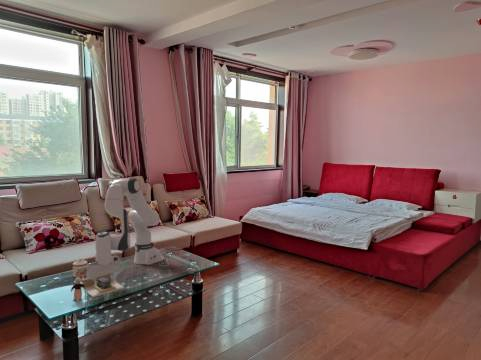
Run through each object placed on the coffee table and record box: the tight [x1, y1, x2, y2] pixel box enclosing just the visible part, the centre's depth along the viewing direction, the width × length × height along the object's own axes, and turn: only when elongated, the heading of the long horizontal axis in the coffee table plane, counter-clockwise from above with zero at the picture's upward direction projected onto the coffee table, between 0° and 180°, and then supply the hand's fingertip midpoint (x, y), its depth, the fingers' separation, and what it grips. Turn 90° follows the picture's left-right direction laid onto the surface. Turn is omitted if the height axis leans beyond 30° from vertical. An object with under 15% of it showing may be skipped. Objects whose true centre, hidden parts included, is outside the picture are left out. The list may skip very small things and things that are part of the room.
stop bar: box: [97, 277, 111, 290], centre depth 206 cm, size 8×4×5 cm, turn 52°
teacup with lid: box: [72, 258, 89, 278], centre depth 227 cm, size 12×9×12 cm
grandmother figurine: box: [70, 277, 86, 302], centre depth 191 cm, size 8×4×13 cm, turn 126°
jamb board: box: [73, 274, 125, 298], centre depth 211 cm, size 19×29×6 cm, turn 45°
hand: (103, 282), depth 206 cm, fingers open, 8 cm apart
